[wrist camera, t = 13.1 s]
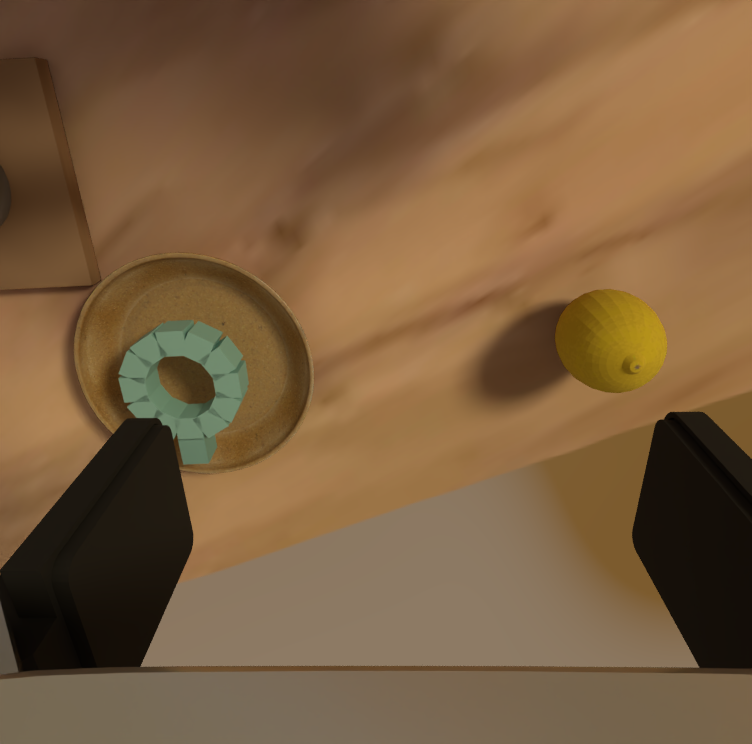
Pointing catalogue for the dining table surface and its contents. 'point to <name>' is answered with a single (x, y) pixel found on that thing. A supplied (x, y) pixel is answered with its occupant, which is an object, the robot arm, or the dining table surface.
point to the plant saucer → (185, 376)
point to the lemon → (611, 341)
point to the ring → (183, 419)
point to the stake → (38, 187)
